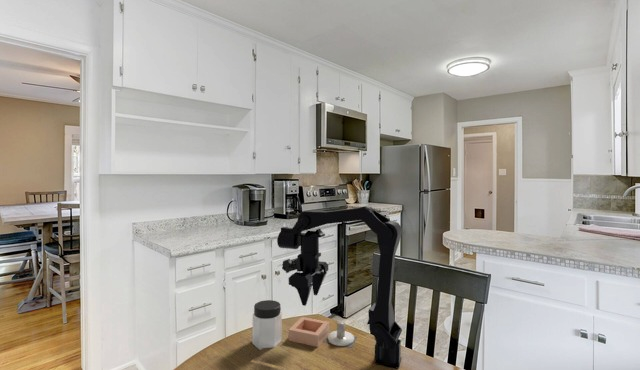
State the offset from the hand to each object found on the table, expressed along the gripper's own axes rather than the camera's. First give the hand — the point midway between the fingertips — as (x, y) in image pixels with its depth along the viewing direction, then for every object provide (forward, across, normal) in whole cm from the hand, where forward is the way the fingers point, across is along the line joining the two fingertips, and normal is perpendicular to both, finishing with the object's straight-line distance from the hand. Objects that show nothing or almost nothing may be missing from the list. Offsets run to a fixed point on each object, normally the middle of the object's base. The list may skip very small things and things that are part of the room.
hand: (310, 300), depth 100 cm
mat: (+14, -4, +9) cm, 17 cm away
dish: (+13, -3, -1) cm, 14 cm away
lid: (+13, -4, +9) cm, 16 cm away
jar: (+13, +5, -12) cm, 19 cm away
